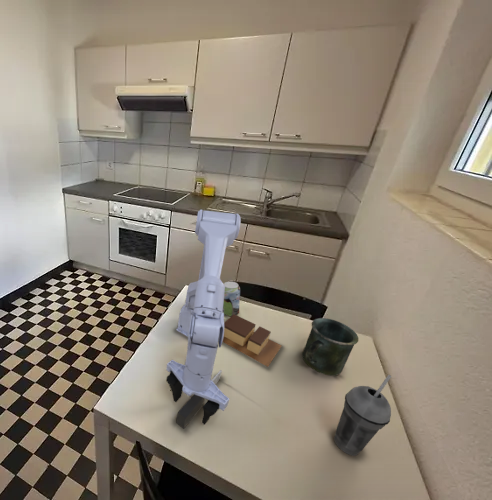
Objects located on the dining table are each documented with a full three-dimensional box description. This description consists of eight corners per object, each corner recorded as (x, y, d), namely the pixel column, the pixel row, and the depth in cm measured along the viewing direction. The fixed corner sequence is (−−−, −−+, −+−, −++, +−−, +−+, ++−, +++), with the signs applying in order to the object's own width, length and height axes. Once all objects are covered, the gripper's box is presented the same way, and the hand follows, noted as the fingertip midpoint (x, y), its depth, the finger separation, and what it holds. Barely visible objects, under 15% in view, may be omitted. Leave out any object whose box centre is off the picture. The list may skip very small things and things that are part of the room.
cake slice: (246, 348, 84) (249, 338, 82) (256, 336, 89) (259, 326, 88) (257, 354, 82) (261, 344, 80) (267, 341, 87) (270, 331, 86)
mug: (351, 370, 79) (367, 337, 74) (320, 388, 73) (335, 353, 68) (314, 345, 88) (327, 314, 83) (284, 359, 81) (295, 326, 76)
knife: (176, 422, 62) (178, 412, 60) (215, 376, 74) (218, 366, 73) (183, 429, 61) (185, 418, 59) (222, 380, 73) (225, 370, 72)
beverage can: (239, 320, 98) (246, 290, 93) (217, 316, 99) (223, 287, 94) (237, 309, 103) (243, 281, 98) (217, 306, 104) (222, 278, 100)
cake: (220, 334, 89) (222, 324, 87) (231, 323, 94) (233, 313, 93) (242, 346, 84) (245, 336, 83) (253, 334, 90) (255, 324, 88)
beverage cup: (319, 428, 63) (350, 361, 55) (349, 426, 63) (384, 360, 55) (343, 464, 56) (383, 393, 48) (376, 462, 57) (421, 392, 49)
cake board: (210, 336, 89) (210, 335, 88) (227, 320, 97) (228, 318, 97) (267, 368, 78) (267, 366, 78) (281, 347, 86) (281, 345, 86)
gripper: (160, 356, 60) (155, 400, 65) (221, 398, 51) (210, 445, 56) (179, 340, 64) (173, 382, 70) (238, 376, 56) (226, 421, 61)
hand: (190, 409), depth 63 cm, fingers open, 7 cm apart
